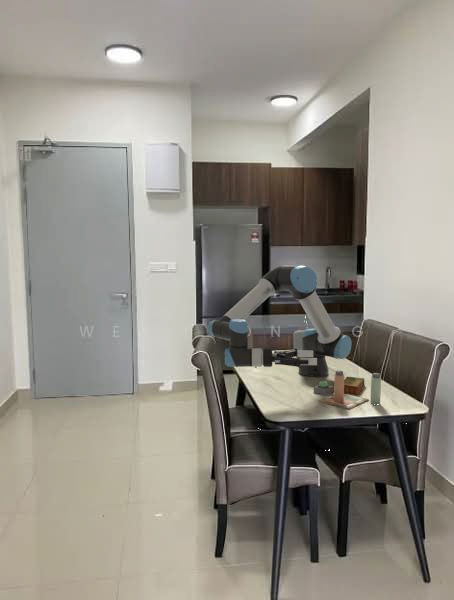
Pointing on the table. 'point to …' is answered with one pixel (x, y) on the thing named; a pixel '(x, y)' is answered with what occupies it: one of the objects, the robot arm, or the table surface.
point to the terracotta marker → (339, 387)
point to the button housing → (323, 390)
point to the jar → (299, 338)
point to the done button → (323, 384)
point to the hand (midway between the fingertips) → (315, 357)
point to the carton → (353, 385)
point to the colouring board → (348, 402)
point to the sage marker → (375, 388)
